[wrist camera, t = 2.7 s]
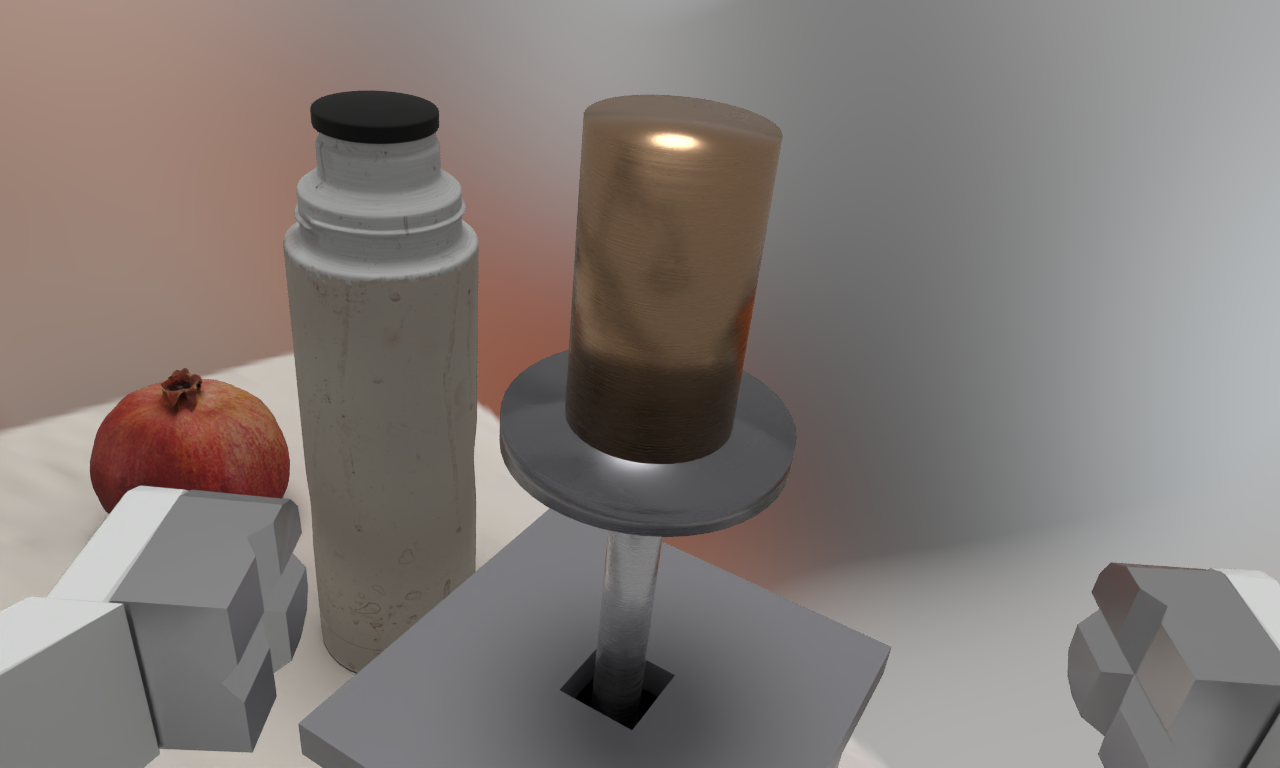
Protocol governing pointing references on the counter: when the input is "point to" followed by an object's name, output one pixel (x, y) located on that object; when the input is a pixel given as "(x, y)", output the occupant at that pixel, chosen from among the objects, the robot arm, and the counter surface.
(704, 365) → the brown candle holder
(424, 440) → the thermos bottle
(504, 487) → the counter surface
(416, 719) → the press carafe
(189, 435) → the fruit
